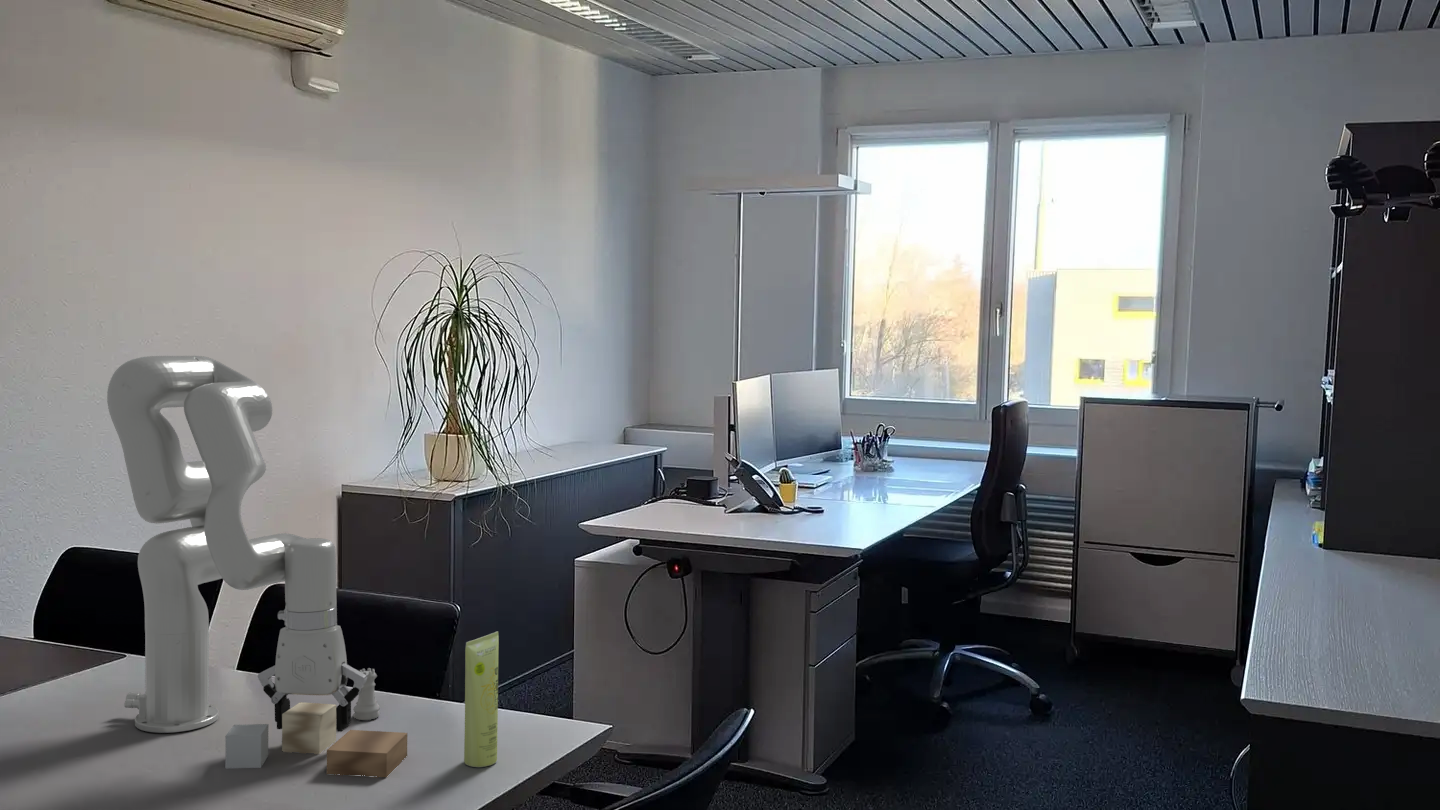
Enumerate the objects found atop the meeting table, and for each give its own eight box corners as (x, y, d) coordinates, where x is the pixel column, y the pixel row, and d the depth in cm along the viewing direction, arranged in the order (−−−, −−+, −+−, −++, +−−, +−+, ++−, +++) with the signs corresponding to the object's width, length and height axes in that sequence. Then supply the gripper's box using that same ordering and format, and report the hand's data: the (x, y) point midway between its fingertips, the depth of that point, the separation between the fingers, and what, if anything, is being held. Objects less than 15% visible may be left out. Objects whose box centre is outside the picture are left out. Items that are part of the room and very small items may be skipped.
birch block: (282, 752, 185) (282, 714, 185) (299, 739, 191) (300, 702, 191) (319, 754, 184) (319, 716, 184) (336, 741, 190) (336, 704, 190)
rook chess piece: (372, 722, 200) (372, 675, 199) (347, 720, 200) (348, 672, 200) (385, 714, 204) (385, 667, 203) (360, 711, 205) (361, 665, 204)
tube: (498, 768, 180) (500, 640, 179) (463, 770, 179) (465, 641, 178) (496, 755, 186) (498, 631, 185) (463, 757, 185) (464, 632, 184)
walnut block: (326, 776, 176) (326, 750, 176) (350, 755, 185) (350, 729, 185) (386, 780, 176) (386, 753, 175) (407, 758, 185) (407, 732, 184)
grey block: (225, 769, 178) (225, 735, 177) (233, 757, 182) (233, 724, 182) (260, 768, 178) (260, 735, 178) (268, 756, 183) (268, 724, 183)
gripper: (246, 623, 184) (248, 733, 184) (354, 626, 182) (356, 737, 183) (269, 612, 191) (271, 718, 192) (374, 615, 189) (376, 722, 190)
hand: (313, 727), depth 187 cm, fingers open, 9 cm apart
